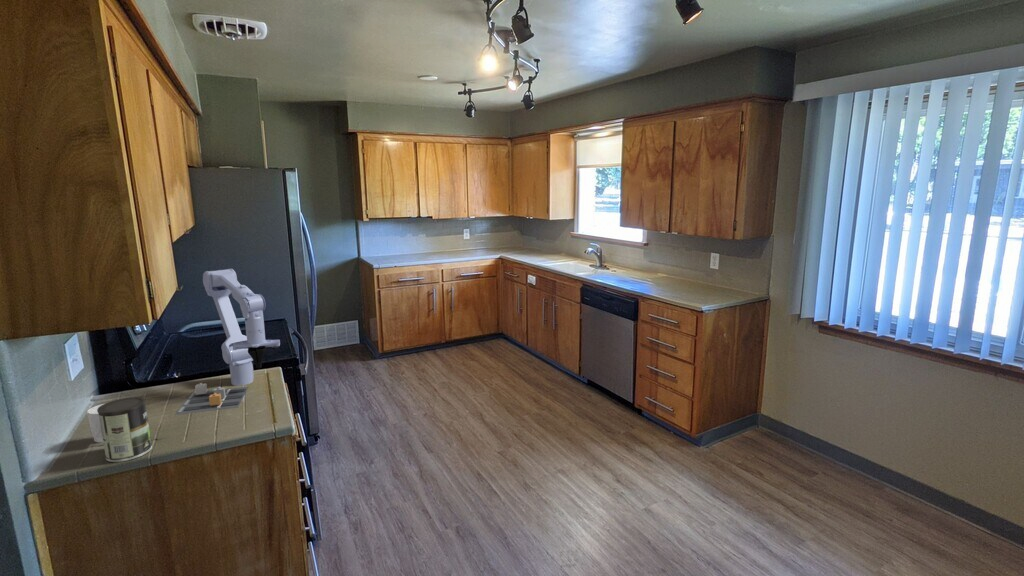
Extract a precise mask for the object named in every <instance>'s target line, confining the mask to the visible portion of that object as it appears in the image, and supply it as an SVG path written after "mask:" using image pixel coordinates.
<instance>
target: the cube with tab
mask: <svg viewBox="0 0 1024 576" xmlns="http://www.w3.org/2000/svg"><path fill="white" fill-rule="evenodd" d="M194 388H195V390H194V391H195V392H196V395H199V394H206V393H207V391H208V385H207V383H203V382H200V383H198V384H197V383H196V385H194Z"/></svg>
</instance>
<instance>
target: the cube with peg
mask: <svg viewBox="0 0 1024 576" xmlns="http://www.w3.org/2000/svg"><path fill="white" fill-rule="evenodd" d="M225 389H226V387H225V386H224V387H221V386H218V387H215V388H214V389H213V390H212V391H214V393H216V394H221V398H225V396H226V393H225Z"/></svg>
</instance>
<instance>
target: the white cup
mask: <svg viewBox="0 0 1024 576" xmlns="http://www.w3.org/2000/svg"><path fill="white" fill-rule="evenodd" d="M104 404H105V403H101V404H98V405H95V406H93V407H91V408H89V409H88V410H86V414H87V418H88V423H89V426H90V432H91V434H92V438H93V440H94V442H95V443H98V444H99V443H103V437H102V431H101V425H100V419H99V413H98V412H97V409H98V408H99V407H100V406H102V405H104Z"/></svg>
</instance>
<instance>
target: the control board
mask: <svg viewBox="0 0 1024 576" xmlns="http://www.w3.org/2000/svg"><path fill="white" fill-rule="evenodd" d="M248 389H249V386H243V387H242V386H241V387H233V388H225V393H226V396H225V398H221V400H222V403H221V404H220V405H212V406H210V402H209V396H210V395H213V394H214V391H213V390H207V393H206V394H199V395H196V391H195V392H191V393H190V394H189V396H188V397H187V398H186V399H185V400H184V402H183V403H182V404H181V406H179V409H177V410H176V412H175V414H174V416H176V415H184V414H193V413H194V414H195V413H203V412H211V411H217V410H218V411H220V410H229V409H235V408H236V409H237V408H239V406H240V405H241V403H242V401H243V399H244V398H245V395H246V393H247V390H248Z"/></svg>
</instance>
